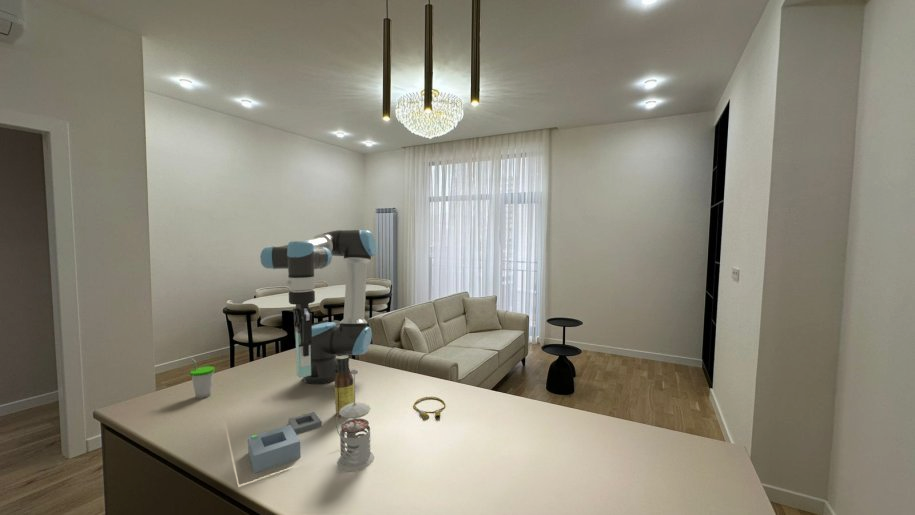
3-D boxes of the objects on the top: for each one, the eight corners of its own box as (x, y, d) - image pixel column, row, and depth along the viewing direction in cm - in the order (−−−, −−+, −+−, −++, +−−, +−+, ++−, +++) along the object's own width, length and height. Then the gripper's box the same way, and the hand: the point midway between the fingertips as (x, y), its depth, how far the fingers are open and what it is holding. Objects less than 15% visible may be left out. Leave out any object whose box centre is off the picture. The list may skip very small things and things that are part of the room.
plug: (308, 372, 117) (306, 324, 116) (311, 375, 114) (309, 326, 113) (296, 374, 115) (295, 326, 114) (299, 377, 112) (298, 328, 111)
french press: (354, 476, 91) (352, 378, 89) (324, 461, 97) (322, 369, 96) (381, 456, 99) (380, 366, 98) (352, 443, 105) (351, 359, 104)
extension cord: (404, 418, 121) (404, 412, 121) (420, 398, 136) (420, 393, 136) (438, 422, 118) (438, 416, 118) (451, 401, 133) (451, 396, 133)
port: (291, 441, 107) (290, 423, 106) (300, 459, 98) (300, 439, 97) (248, 454, 100) (247, 435, 100) (254, 475, 91) (253, 454, 91)
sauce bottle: (358, 412, 124) (357, 355, 123) (346, 420, 119) (345, 361, 118) (344, 408, 127) (343, 353, 126) (331, 416, 121) (329, 358, 120)
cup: (219, 394, 139) (218, 356, 138) (196, 402, 132) (194, 362, 131) (210, 390, 143) (208, 353, 142) (187, 397, 136) (185, 358, 136)
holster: (314, 417, 121) (314, 411, 120) (321, 427, 114) (321, 421, 114) (288, 425, 116) (288, 419, 116) (294, 435, 109) (294, 429, 109)
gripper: (283, 288, 117) (285, 359, 119) (295, 294, 104) (297, 374, 105) (307, 286, 122) (308, 354, 123) (322, 292, 109) (323, 368, 110)
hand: (303, 363), depth 114 cm, fingers closed on plug, 3 cm apart
